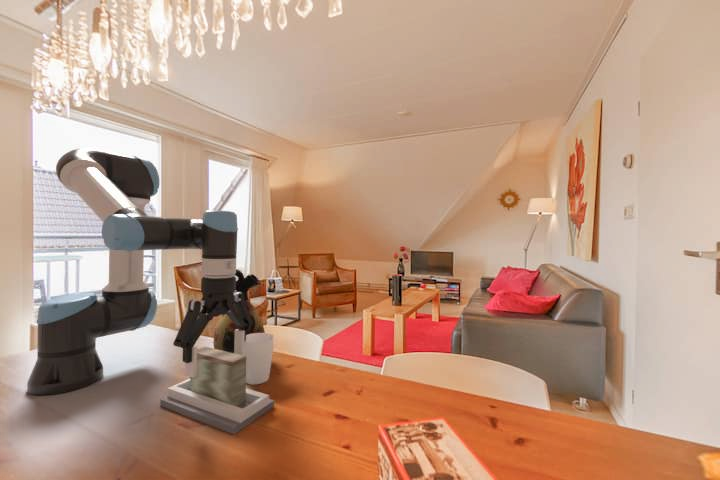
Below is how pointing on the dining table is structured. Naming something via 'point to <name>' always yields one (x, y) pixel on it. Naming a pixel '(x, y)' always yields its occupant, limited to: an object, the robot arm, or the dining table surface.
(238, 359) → the beige textured block
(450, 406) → the dining table surface
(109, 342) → the dining table surface
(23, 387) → the dining table surface
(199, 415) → the track base
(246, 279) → the ceramic jug
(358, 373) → the dining table surface
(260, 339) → the cup
